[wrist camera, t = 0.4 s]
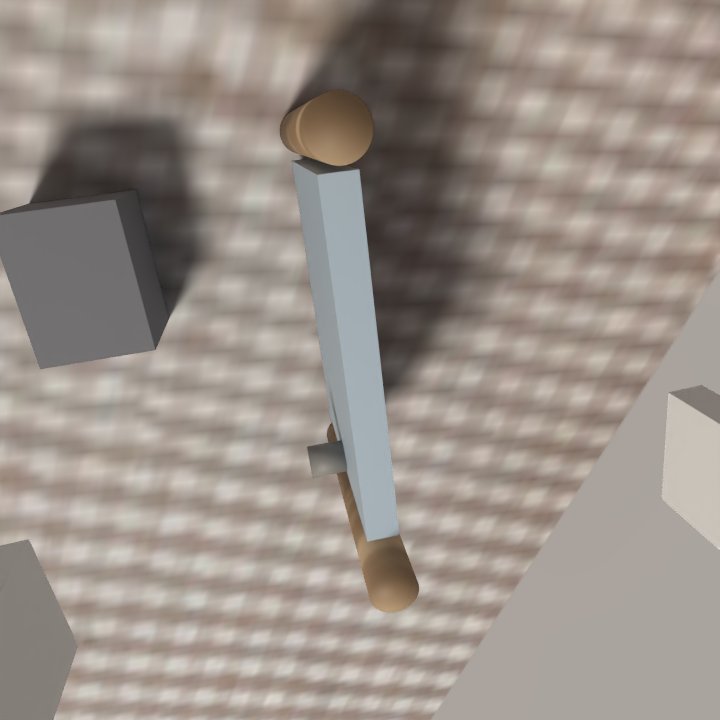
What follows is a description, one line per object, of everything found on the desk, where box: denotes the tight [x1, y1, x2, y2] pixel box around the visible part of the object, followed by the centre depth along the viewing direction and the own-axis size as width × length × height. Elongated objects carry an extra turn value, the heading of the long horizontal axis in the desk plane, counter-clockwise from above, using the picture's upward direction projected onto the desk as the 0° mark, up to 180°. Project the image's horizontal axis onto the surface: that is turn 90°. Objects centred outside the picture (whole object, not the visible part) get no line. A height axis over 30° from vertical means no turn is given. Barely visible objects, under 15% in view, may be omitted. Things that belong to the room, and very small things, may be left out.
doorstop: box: [0, 190, 169, 369], centre depth 32 cm, size 8×6×6 cm
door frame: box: [280, 90, 419, 612], centre depth 31 cm, size 23×2×16 cm, turn 7°
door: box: [292, 158, 399, 542], centre depth 31 cm, size 17×4×14 cm, turn 7°
